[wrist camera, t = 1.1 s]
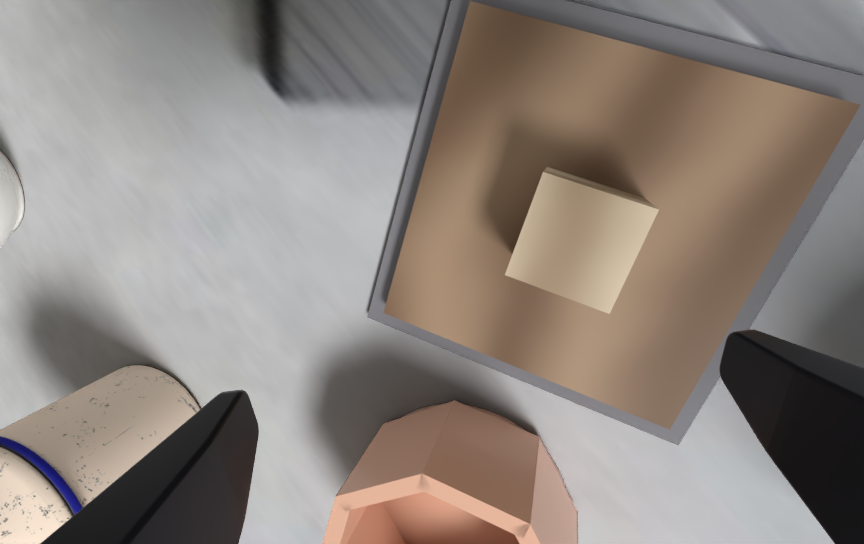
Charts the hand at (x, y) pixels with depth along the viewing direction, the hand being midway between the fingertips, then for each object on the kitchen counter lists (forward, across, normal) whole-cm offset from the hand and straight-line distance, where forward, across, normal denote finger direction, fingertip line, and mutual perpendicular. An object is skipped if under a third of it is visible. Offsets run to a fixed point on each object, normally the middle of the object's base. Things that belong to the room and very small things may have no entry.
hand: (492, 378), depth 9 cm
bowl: (+11, 0, +17) cm, 20 cm away
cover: (+11, -6, +2) cm, 13 cm away
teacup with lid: (+18, +20, +17) cm, 32 cm away
